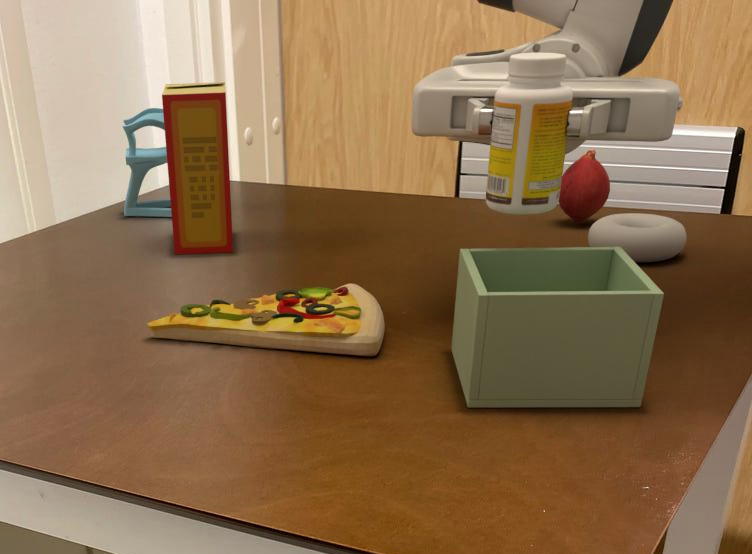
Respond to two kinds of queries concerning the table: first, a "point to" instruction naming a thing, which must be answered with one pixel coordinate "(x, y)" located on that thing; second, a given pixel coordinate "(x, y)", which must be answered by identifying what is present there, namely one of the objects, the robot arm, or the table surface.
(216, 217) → the baking soda box
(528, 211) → the supplement bottle
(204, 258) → the table surface
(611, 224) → the donut
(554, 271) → the trash bin
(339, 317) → the pizza slice
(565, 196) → the onion
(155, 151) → the chair
